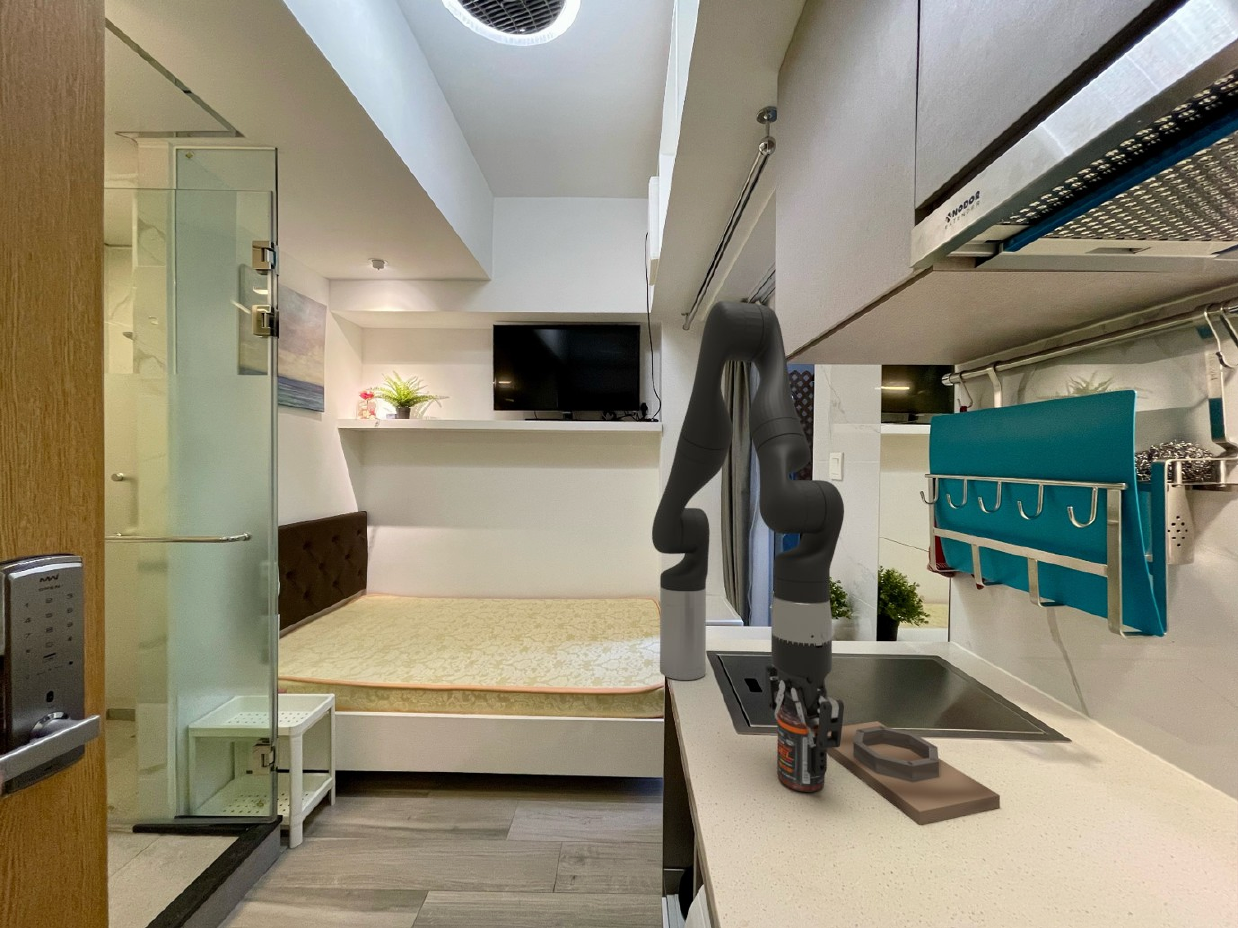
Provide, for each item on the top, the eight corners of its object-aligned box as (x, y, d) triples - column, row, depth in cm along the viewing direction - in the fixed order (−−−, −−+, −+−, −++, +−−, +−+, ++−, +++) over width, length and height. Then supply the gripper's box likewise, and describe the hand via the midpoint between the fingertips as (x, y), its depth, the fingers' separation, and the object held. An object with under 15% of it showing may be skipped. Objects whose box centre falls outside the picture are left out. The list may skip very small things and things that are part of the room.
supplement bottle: (767, 772, 71) (767, 687, 72) (803, 764, 73) (803, 682, 74) (797, 798, 66) (797, 706, 66) (835, 788, 68) (835, 699, 68)
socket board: (811, 740, 80) (811, 717, 80) (877, 730, 84) (877, 708, 84) (919, 824, 61) (919, 793, 61) (999, 807, 64) (999, 778, 64)
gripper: (747, 619, 76) (747, 738, 75) (810, 652, 62) (810, 797, 62) (793, 615, 78) (793, 731, 78) (864, 646, 64) (864, 787, 64)
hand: (800, 760), depth 70 cm, fingers closed on supplement bottle, 6 cm apart
